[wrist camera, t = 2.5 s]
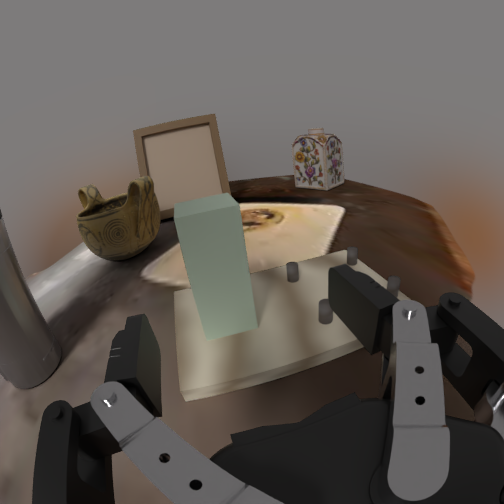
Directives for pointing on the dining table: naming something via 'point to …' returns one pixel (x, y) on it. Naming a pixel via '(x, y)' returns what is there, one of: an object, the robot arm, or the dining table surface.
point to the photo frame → (182, 160)
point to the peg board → (270, 329)
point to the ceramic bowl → (119, 220)
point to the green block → (217, 264)
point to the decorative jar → (318, 160)
